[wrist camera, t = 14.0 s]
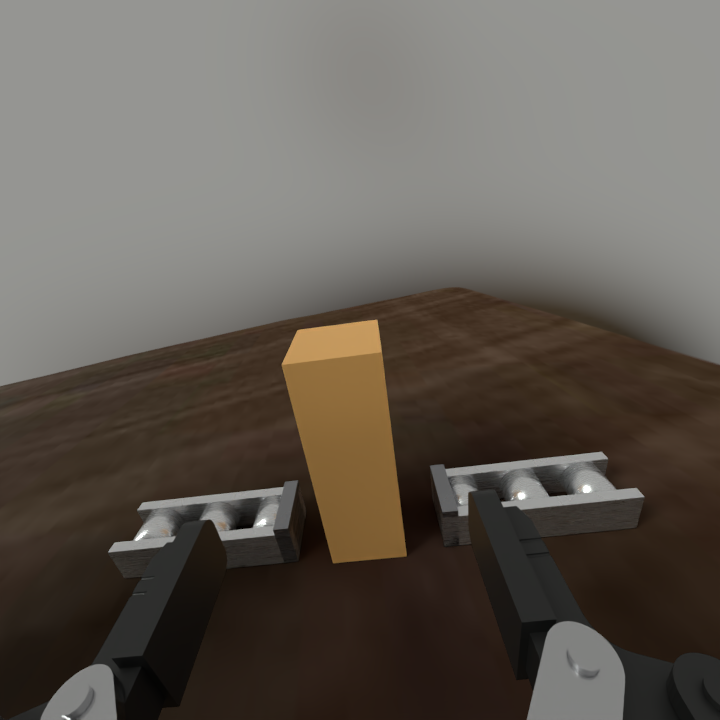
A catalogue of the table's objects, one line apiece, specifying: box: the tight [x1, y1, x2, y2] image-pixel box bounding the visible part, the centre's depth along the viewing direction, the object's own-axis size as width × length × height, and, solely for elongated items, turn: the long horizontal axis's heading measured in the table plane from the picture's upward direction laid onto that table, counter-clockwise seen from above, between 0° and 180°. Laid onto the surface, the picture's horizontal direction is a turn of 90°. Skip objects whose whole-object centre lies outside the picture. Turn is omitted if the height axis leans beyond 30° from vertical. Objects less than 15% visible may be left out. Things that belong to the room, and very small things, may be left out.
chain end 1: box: [108, 480, 307, 578], centre depth 21 cm, size 10×3×3 cm, turn 90°
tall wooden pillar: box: [282, 320, 407, 563], centre depth 18 cm, size 4×5×12 cm
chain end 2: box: [430, 452, 645, 547], centre depth 20 cm, size 10×3×3 cm, turn 90°
